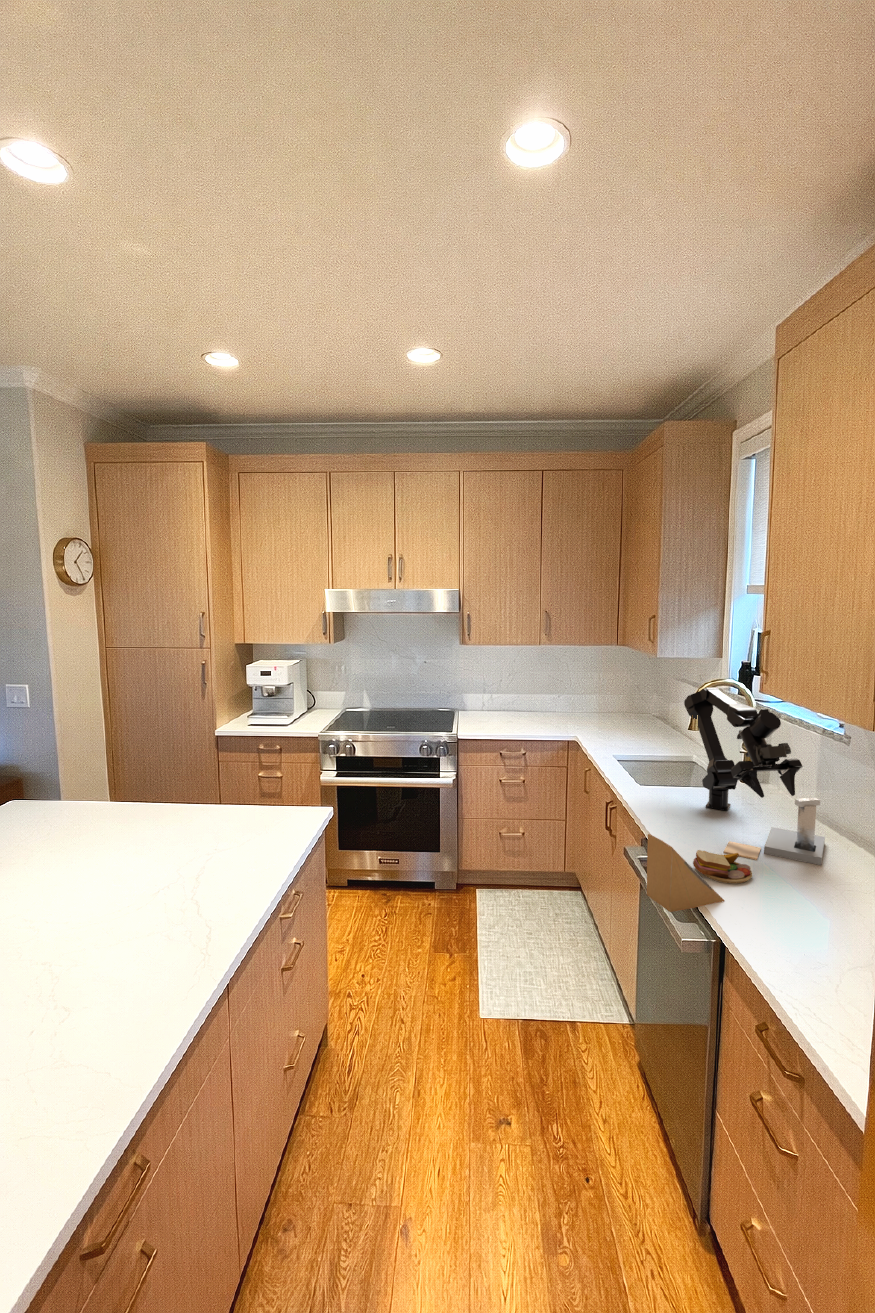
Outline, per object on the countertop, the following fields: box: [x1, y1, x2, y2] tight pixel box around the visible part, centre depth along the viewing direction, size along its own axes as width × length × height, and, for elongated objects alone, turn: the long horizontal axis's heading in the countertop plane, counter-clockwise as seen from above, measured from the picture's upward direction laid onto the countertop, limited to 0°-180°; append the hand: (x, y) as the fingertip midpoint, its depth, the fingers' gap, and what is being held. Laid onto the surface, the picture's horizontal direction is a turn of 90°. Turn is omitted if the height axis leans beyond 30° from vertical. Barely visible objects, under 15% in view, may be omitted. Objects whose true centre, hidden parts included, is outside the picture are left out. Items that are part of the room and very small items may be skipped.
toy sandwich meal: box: [692, 849, 753, 885], centre depth 152 cm, size 12×14×5 cm
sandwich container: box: [646, 833, 725, 913], centre depth 139 cm, size 9×15×15 cm, turn 108°
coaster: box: [723, 840, 762, 861], centre depth 164 cm, size 8×8×1 cm
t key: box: [794, 797, 821, 852], centre depth 161 cm, size 4×6×15 cm, turn 100°
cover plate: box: [763, 826, 826, 866], centre depth 166 cm, size 16×13×2 cm
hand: (778, 796), depth 169 cm, fingers open, 9 cm apart
